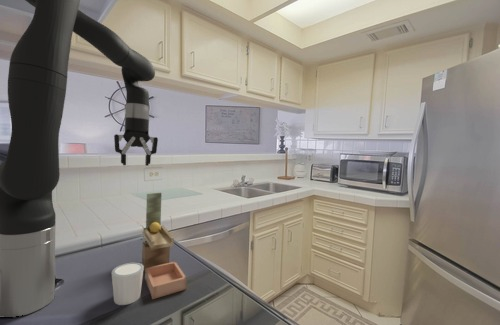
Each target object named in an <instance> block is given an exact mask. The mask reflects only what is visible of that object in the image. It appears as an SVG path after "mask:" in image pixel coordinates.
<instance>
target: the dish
mask: <svg viewBox="0 0 500 325" xmlns="http://www.w3.org/2000/svg"><path fill="white" fill-rule="evenodd" d="M187 279H188V278H187V276H186V274H184V272H183V270H182V269H181V268H180V266H179V264H178V263H177V261H171V262H169V263H166V264H162V265H157V266H153V267H148V268H145V271H144V280H145V283H146V286H147V289H148V291H149V294H150V296H151V300H155V299H157V298H161V297H165V296H168V295H169V296H170V295H172V294H175V293H178V292H181V291H185V290H187V281H188V280H187Z"/></svg>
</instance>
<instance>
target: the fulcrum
mask: <svg viewBox="0 0 500 325" xmlns="http://www.w3.org/2000/svg"><path fill="white" fill-rule="evenodd" d="M170 247H171V246H169V247H163V248H158V249H153V250H151V248H150V247H149V245H148V243H147V241H146V240H144V241H143V242H142V249H141V250H142V256H141V257H142V258H141V259H142V260H141V264H142V265H143V266H144V270H143V272H145V268H148V267H153V266H157V265H162V264H166V263H170V254H171V253H170V249H171V248H170Z"/></svg>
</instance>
